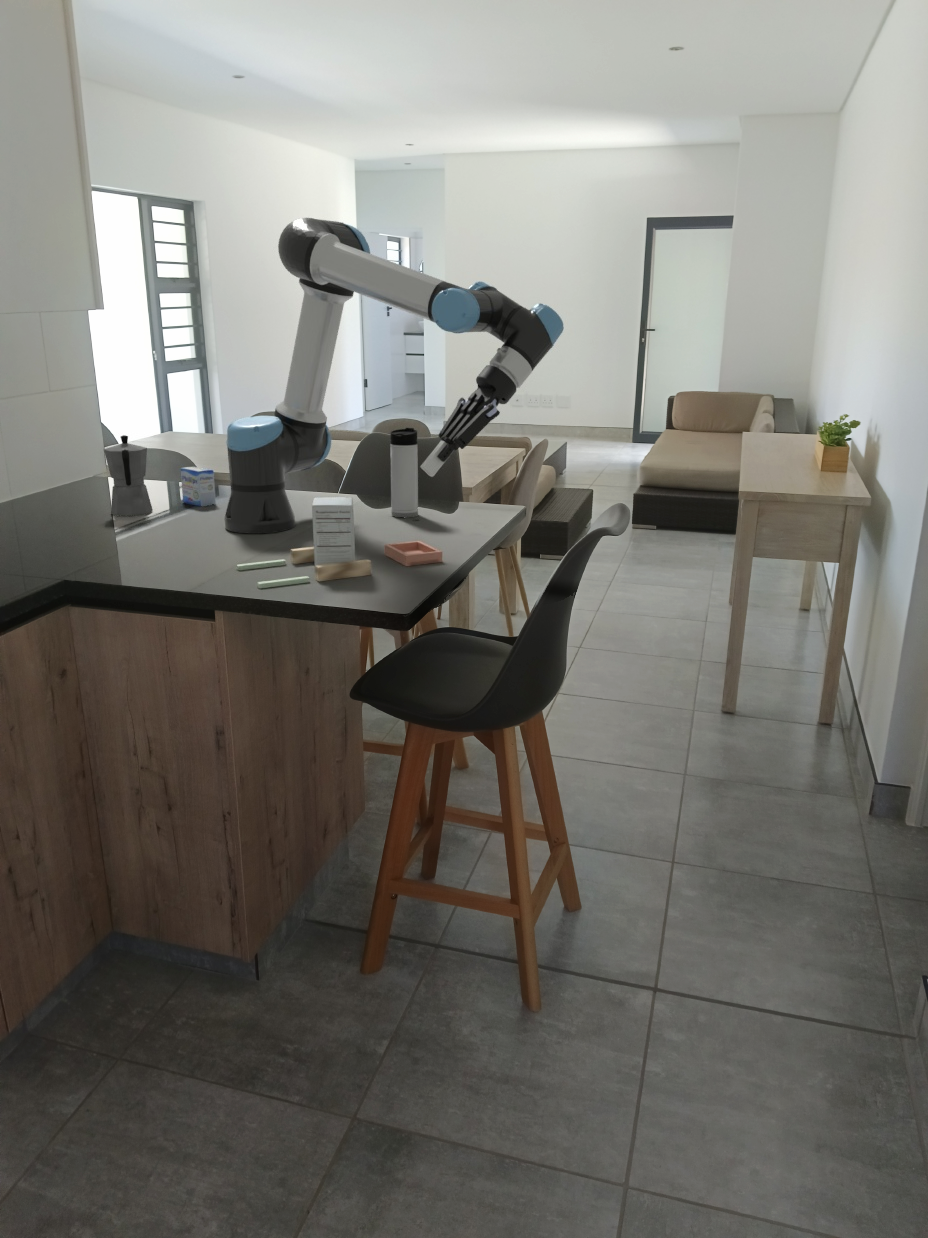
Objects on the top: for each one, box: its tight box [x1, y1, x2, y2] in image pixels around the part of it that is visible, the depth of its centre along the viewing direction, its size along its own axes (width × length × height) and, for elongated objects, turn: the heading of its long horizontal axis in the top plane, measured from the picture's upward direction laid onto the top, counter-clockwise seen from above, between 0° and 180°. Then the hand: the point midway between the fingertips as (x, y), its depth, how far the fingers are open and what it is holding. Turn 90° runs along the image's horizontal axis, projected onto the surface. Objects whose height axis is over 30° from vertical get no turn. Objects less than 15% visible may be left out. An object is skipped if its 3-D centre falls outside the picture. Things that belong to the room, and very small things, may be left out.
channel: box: [290, 546, 372, 582], centre depth 170 cm, size 10×15×2 cm, turn 29°
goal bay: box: [235, 558, 311, 589], centre depth 165 cm, size 9×14×1 cm, turn 29°
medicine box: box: [180, 466, 217, 507], centre depth 227 cm, size 8×4×9 cm, turn 49°
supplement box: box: [311, 496, 356, 567], centre depth 169 cm, size 7×7×13 cm
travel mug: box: [389, 427, 419, 519], centre depth 214 cm, size 6×7×20 cm
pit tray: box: [383, 540, 443, 567], centre depth 178 cm, size 8×10×2 cm
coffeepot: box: [103, 434, 153, 517], centre depth 213 cm, size 15×9×18 cm, turn 19°
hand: (426, 471), depth 174 cm, fingers closed
